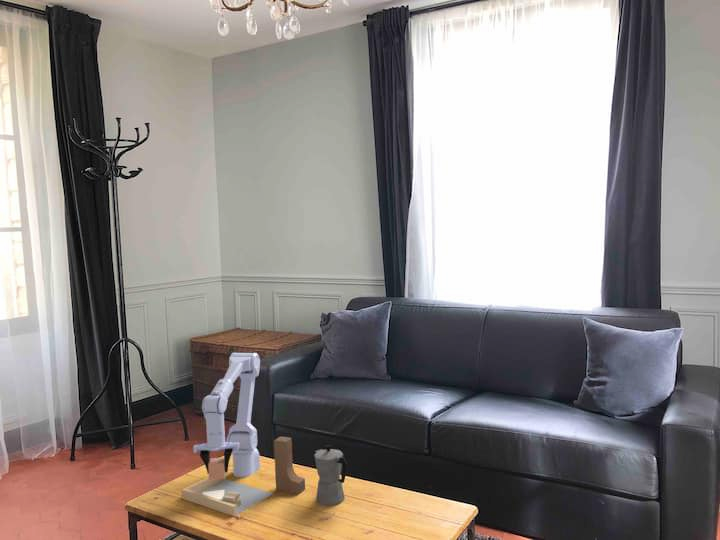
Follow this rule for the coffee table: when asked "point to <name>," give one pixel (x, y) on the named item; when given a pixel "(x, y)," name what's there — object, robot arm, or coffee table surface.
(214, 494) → the pad
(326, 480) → the coffeepot
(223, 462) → the terracotta cube
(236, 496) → the ash block
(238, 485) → the arena board
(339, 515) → the coffee table surface
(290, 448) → the wooden block
